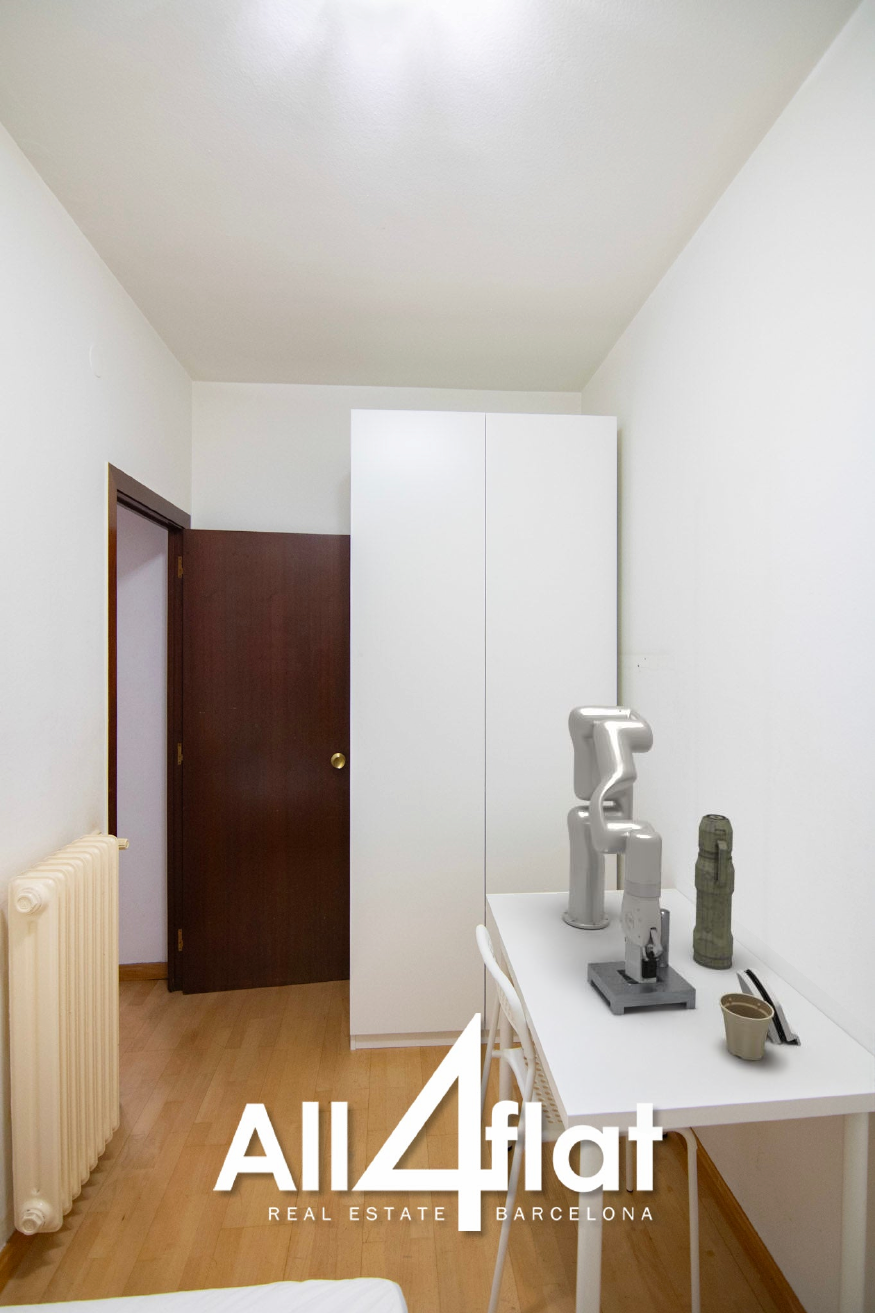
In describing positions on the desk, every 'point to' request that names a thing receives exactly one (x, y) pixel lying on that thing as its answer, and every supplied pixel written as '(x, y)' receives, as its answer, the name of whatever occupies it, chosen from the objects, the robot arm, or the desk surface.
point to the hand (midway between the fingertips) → (640, 968)
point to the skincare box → (635, 961)
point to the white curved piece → (759, 988)
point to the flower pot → (745, 1024)
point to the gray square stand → (661, 992)
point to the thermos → (714, 893)
